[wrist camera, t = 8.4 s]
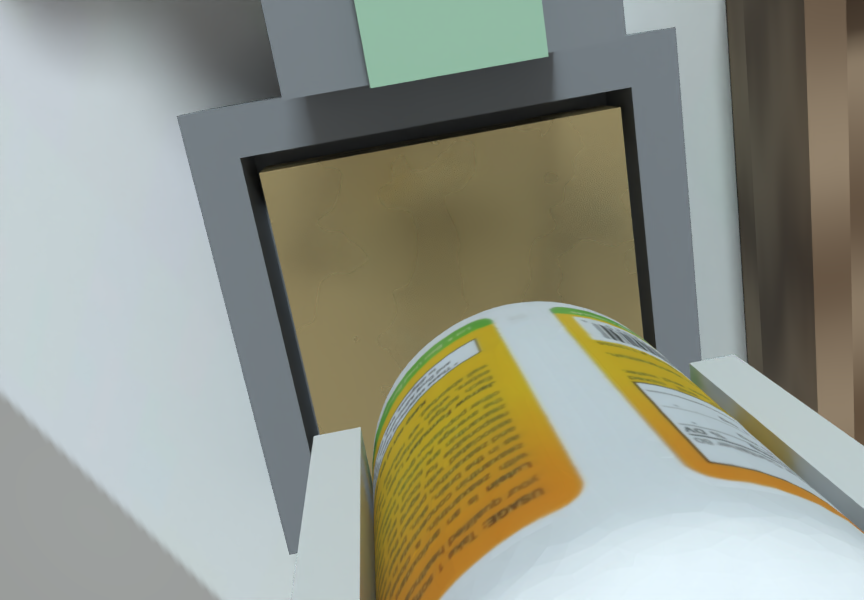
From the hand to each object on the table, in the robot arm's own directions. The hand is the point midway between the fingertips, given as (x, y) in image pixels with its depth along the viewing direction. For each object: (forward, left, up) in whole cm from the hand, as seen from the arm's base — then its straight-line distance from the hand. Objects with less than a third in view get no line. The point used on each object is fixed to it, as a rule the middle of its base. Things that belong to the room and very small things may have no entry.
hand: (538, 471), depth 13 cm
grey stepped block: (+1, 0, -11) cm, 11 cm away
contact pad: (0, 0, -9) cm, 9 cm away
